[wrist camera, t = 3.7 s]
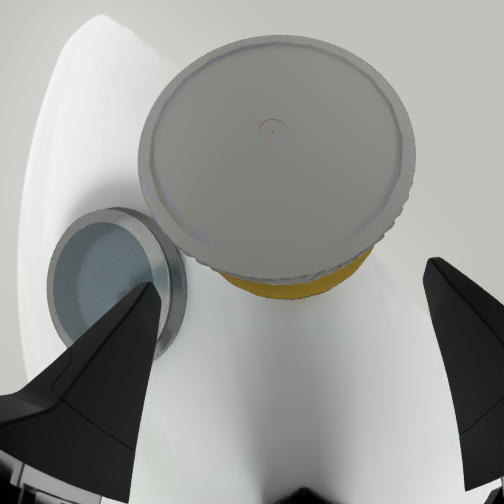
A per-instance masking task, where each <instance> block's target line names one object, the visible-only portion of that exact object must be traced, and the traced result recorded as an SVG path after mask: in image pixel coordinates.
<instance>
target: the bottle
mask: <svg viewBox="0 0 504 504" xmlns="http://www.w3.org/2000/svg"><path fill="white" fill-rule="evenodd" d="M415 162H416V147H415V138H414V133H413V129H412V125H411V122H410V119H409V116H408V114H407V111H406V109H405V107H404V105H403V103H402V101H401V100H400V98H399V96H398V95H397V93H396V92H395V90H394V89H393V88H392V86H391V85H390V84H389V83H388V82H387V81H386V79H385V78H383V76H382V75H381V74H380V73H379V72H377V71H376V70H375V69H374V68H373V67H372V66H371V65H369V64H368V63H366V62H365V61H364V60H362V59H361V58H359V57H358V56H356V55H354V54H352V53H351V52H349V51H347V50H345V49H342V48H340V47H338V46H336V45H333V44H330V43H327V42H324V41H321V40H317V39H312V38H307V37H301V36H291V35H290V36H289V35H272V36H260V37H254V38H248V39H244V40H240V41H237V42H233V43H230V44H227V45H225V46H222V47H220V48H218V49H215V50H213V51H212V52H209V53H207V54H206V55H204V56H202V57H200V58H199V59H197V60H196V61H195V62H193V63H191V64H190V65H189V66H188V67H186V68H185V69H184V70H182V71H181V72H180V73H179V74H178V75H177V76H176V77H175V78H174V79H173V80H172V81H171V82H170V83H169V84H168V85H167V87H166V88H165V89H164V90H163V92H162V93H161V94H160V96H159V97H158V99H157V100H156V102H155V103H154V105H153V107H152V109H151V111H150V113H149V115H148V117H147V119H146V122H145V125H144V127H143V131H142V134H141V138H140V144H139V151H138V173H139V180H140V185H141V189H142V192H143V196H144V198H145V201H146V203H147V206H148V208H149V210H150V212H151V214H152V215H153V217H154V219H155V220H156V222H157V223H158V225H159V226H160V227H161V228H162V231H163V232H164V234H166V235H168V237H169V238H170V239H171V240H172V242H173V243H174V244H175V245H176V246H178V247H180V248H182V249H183V252H184V253H185V254H186V255H188V256H190V257H193V258H196V261H197V262H198V263H200V264H202V265H205V266H209V267H211V269H212V270H214V271H216V272H219V273H220V274H221V275H222V276H223V277H224V278H225V279H226V280H227V281H229V282H230V283H232V284H233V285H235V286H237V287H239V288H242V289H244V290H246V291H249V292H251V293H253V294H256V295H258V296H262V297H266V298H276V299H289V300H292V299H301V298H305V297H309V296H313V295H317V294H321V293H323V292H326V291H328V290H330V289H331V288H333V287H335V286H336V285H338V284H339V283H341V282H342V281H344V280H345V279H347V278H348V277H350V276H351V275H352V274H353V273H354V272H355V271H356V270H357V269H358V268H359V267H360V265H361V264H362V263H363V261H364V260H365V259H366V258H367V256H368V255H369V254H370V252H371V251H372V249H373V247H374V245H375V244H376V243H377V242H379V241H380V240H381V239H382V238H383V237H384V233H385V232H387V231H388V230H389V229H390V228H392V226H393V225H394V223H395V221H394V220H395V219H396V218H397V217H398V216H399V215H400V214H401V213H402V211H403V205H404V203H405V202H406V201H407V200H408V197H409V191H410V188H411V187H412V184H413V177H414V172H415Z"/></svg>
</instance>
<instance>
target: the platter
mask: <svg viewBox="0 0 504 504" xmlns="http://www.w3.org/2000/svg"><path fill="white" fill-rule="evenodd" d="M143 281H151V282H153V283H154V285H155V287H156V289H157V291H158V293H159V295H160V297H161V301H162V306H161V314H160V321H159V329H158V337H157V343H158V342H159V340H160V339H161V337H162V335H163V333H164V331H165V329H166V327H167V324H168V321H169V318H170V314H171V309H172V302H173V280H172V273H171V268H170V264H169V261H168V258H167V255H166V253H165V250H164V248H163V246H162V244H161V243H160V241H159V239H158V238H157V236H156V235H155V234H154V233H153V231H152V230H151V229H150V228H149V227H148V226H147V225H145V224H144V223H143V222H141V221H140V220H138V219H137V218H135V217H132V216H130V215H128V214H126V213H124V212H121V211H117V210H110V209H105V210H97V211H93V212H91V213H88V214H86V215H84V216H82V217H81V218H79V219H78V220H77V221H75V222H74V223H73V224H72V225H71V226H70V227H69V228H68V229H67V230H66V231H65V233H64V234H63V235H62V237H61V238H60V240H59V242H58V243H57V245H56V248H55V250H54V252H53V255H52V258H51V261H50V265H49V269H48V276H47V300H48V307H49V312H50V316H51V319H52V322H53V324H54V327H55V329H56V331H57V333H58V335H59V337H60V338H61V340H62V341H63V343H64V344H65V345H66V347H67V348H69V347H70V346H72V344H73V343H74V342H75V341H76V340H77V339H78V338H79V337H80V336H81V335H82V334H84V333H85V332H86V331H87V330H88V329H89V328H90V327H91V326H92V325H93V324H94V323H95V322H96V321H97V320H99V319H100V318H101V317H102V316H103V315H104V314H105V313H106V312H107V311H108V310H110V309H111V308H112V307H113V306H114V305H115V304H116V303H117V302H118V301H119V300H121V299H122V298H123V297H124V296H125V295H126V294H127V293H128V292H130V291H131V290H132V289H133V288H134V287H135V286H136V285H137V284H139V283H140V282H143ZM156 345H157V344H156Z"/></svg>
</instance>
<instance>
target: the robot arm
mask: <svg viewBox="0 0 504 504" xmlns="http://www.w3.org/2000/svg"><path fill="white" fill-rule="evenodd" d="M423 285H424V289H425V293H426V298H427V302H428V306H429V311H430V315H431V320H432V324H433V328H434V331H435V334H436V338H437V341H438V344H439V348H440V351H441V355H442V358H443V362H444V366H445V370H446V374H447V378H448V382H449V386H450V391H451V395H452V400H453V405H454V410H455V415H456V420H457V426H458V432H459V440H460V447H461V454H462V463H463V473H464V486H465V492H466V491H469V490H472V489H474V488H477V487H480V486H482V485H485V484H487V483H490V482H492V481H494V480H497V479H499V478H501V482H502V486H500V487H498V488H496V489H494V490H492V491H491V493H490V495H489V496H488V498H487V500H486V501H485V503H484V504H504V305H503V304H501V303H500V302H499V301H498V300H497V299H495V298H494V297H493V296H491V295H490V294H489V293H488V292H487V291H485V290H484V289H483V288H481V287H480V286H479V285H478V284H476V283H475V282H474V281H472V280H471V279H469V278H468V277H467V276H466V275H464V274H463V273H461V272H460V271H459V270H457V269H456V268H455V267H453V266H452V265H451V264H449V263H448V262H446V261H445V260H444V259H442V258H440V257H433V258H429V259H428V261H427V264H426V268H425V272H424V276H423ZM161 306H162V301H161V297H160V295H159V293H158V291H157V289H156V287H155V285H154V283H153V282H151V281H143V282H140V283H139V284H137V285H136V286H135V287H134V288H133V289H132V290H131V291H130V292H128V293H127V294H126V295H125V296H124V297H123V298H122V299H121V300H119V301H118V302H117V303H116V304H115V305H114V306H113V307H112V308H111V309H110V310H108V311H107V312H106V313H105V314H104V315H103V316H102V317H101V318H100V319H99V320H97V321H96V322H95V323H94V324H93V325H92V326H91V327H90V328H89V329H88V330H87V331H86V332H85V333H84V334H82V335H81V336H80V337H79V338H78V339H77V340H76V341H75V342H74V343H73V344H72V346H70V347H69V348H68V349H67V350H66V351H65V352H64V353H62V354H61V355H60V356H59V357H58V358H57V359H56V360H55V361H54V362H53V363H52V364H50V365H49V366H48V367H47V368H46V369H45V370H43V371H42V372H41V373H40V374H39V375H38V376H36V377H35V378H34V379H33V380H32V381H31V382H29V383H28V384H27V385H26V386H25V387H24V388H22V389H21V390H19V391H18V392H15V393H13V394H9V395H2V396H0V504H100V503H101V499H102V496H103V497H106V498H109V499H113V500H116V501H119V502H123V503H127V504H128V502H129V496H130V488H131V480H132V473H133V466H134V459H135V451H136V445H137V439H138V433H139V427H140V422H141V416H142V411H143V405H144V400H145V395H146V390H147V385H148V381H149V376H150V371H151V367H152V362H153V358H154V353H155V349H156V344H157V337H158V329H159V321H160V314H161ZM303 492H305V493H306V494H302V493H303ZM274 504H332V503H330V502H329V501H327V500H326V499H324V498H322V497H321V496H319V495H318V494H316V493H315V492H313V491H312V490H310V489H308V488H301V489H299V490H297V491H296V492H294V493H293V494H291V495H290V496H288V497H286V498H285V499H282V500H279V501H277V502H276V503H274Z"/></svg>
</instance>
